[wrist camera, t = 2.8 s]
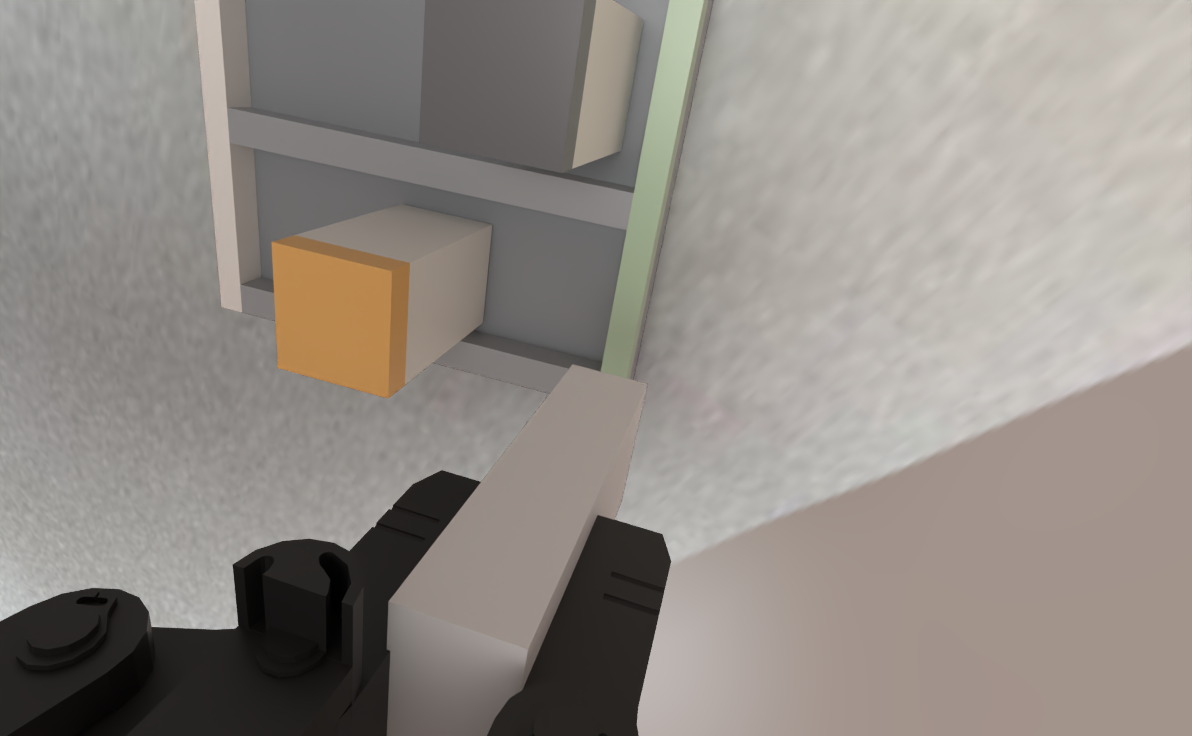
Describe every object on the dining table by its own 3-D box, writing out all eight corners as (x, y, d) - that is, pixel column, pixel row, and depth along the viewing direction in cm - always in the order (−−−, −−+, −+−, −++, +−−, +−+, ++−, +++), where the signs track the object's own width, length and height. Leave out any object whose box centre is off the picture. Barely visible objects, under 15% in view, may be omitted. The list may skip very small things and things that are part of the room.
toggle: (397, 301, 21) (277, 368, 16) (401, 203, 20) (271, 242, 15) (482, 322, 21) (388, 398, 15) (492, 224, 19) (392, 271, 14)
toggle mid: (518, 129, 18) (418, 143, 13) (532, 1, 17) (427, -43, 12) (621, 150, 18) (561, 172, 12) (644, 19, 16) (586, -17, 11)
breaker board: (266, 289, 24) (221, 307, 22) (228, -385, 16) (154, -452, 14) (632, 383, 22) (619, 412, 20) (785, -341, 14) (788, -412, 12)
